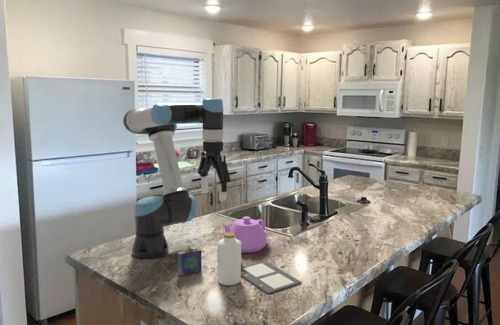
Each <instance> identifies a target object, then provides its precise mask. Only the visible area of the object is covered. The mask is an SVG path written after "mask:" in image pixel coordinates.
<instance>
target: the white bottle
mask: <svg viewBox="0 0 500 325" xmlns="http://www.w3.org/2000/svg"><path fill="white" fill-rule="evenodd" d="M217 249H218V262H217V281H218V282H219V283H220V284H221V285H223V286H235V285H237V284H239V283H240V282H241V279H242V276H241V268H242V253H241V243H240V241H239V240H237V239H235V233H232V232H227V233H225V232H224V233H223V237H222V238H221V239H220V240H219V241H218V242H217Z"/></svg>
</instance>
